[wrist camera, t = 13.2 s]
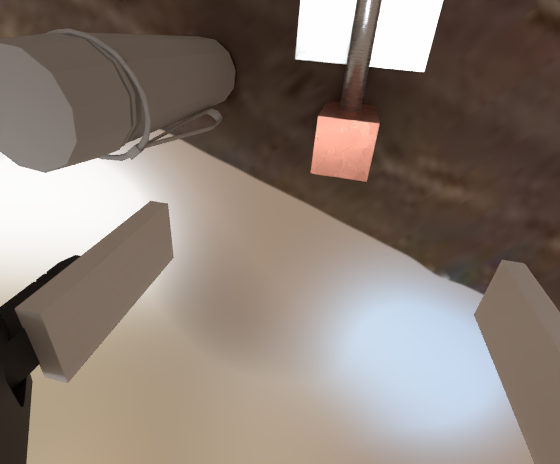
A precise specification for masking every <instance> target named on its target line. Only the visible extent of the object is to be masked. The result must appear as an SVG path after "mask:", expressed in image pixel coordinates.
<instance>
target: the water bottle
mask: <svg viewBox="0 0 560 464" xmlns="http://www.w3.org/2000/svg"><path fill="white" fill-rule="evenodd" d="M234 81H235V67H234V65H233V62H232V59H231V57H230V54H229V52H228V51H227V50H226V49H225V48H224V47H223V46H222V45H221V44H219V43H218V42H217V41H216V40H214V39H210V38H205V37H200V36H173V35H143V34H112V33H84V32H81V31H76V30H73V29H70V28H68V29H58V30H54V31H49V32H47V33H46V34H38V35H30V36H21V37H13V38H4V39H0V152H2V153H3V154H4V155H6V156H7V157H8V158H10V159H11V160H12V161H13V162H15V163H16V164H18V165H19V166H22V167H26V168H30V169H34V170H38V171H41V172H45V173H46V172H49V171H53V170H56V169H60V168H64V167H67V166H71V165H74V164H77V163H81V162H85V161H88V160H91V159H95V158H101V159H108V160H109V159H110V160H120V161H123V160H125V159H127V158H131V159H133V158H135V157H136V156H137V155H138V154H139V153H141V152H142V151H143V150H144V149H145V148H147V147H151V146H155V145H158V144H162V143H166V142H169V141H173V140H177V139H181V138H184V137H188V136H192V135H195V134H199V133H203V132H207V131H210V130H212V129H213V128H215V127H216V126H217V125H218V124H219V123H221V121H222V119H223V118H222V116H221V115H220V113H219V112H218V111H217V110H214V109H211V108H210V107H212V106H214V105H217V104H219V103H221V102H224V101H225V100H226V99H227V97H228V96H229V94H230V93H231V91H232V90H233V88H234ZM207 108H210V109H207ZM205 109H207V110H205ZM203 110H205V111H203ZM200 111H203V112H201V113H199V114H197V115H195V116H194V117H192V118H190V119H188V120H186V121H184V122H183V123H181V124H179V125H177V126H175V127H173V128H172V129H170V130H168V131H166V132H164V133H162V134H161V135H159V136H157V137H155V138H153V139H152V140H150V141H149V134H150V133H151V132H153V131H156V130H158V129H161V128H163V127H165V126H168V125H170V124H172V123H175V122H177V121H179V120H182V119H184V118H186V117H189V116H191V115H193V114H196V113H198V112H200ZM206 113H207V114H208V115H210V116H212V117H213V118H214V119H215V120H216V124H215V125H213V126H210V127H206V128H202V129H198V130H195V131H191V132H187V133H184V134H180V135H176V136H172V137H169V138H165V139H161V140H158V141H155V140H157V139H159V138H161V137H163V136H165V135H167V134H168V133H170V132H172V131H174V130H176V129H178V128H180V127H182V126H184V125H186V124H187V123H189V122H191V121H193V120H195V119H197V118H199V117H201V116H203V115H204V114H206ZM142 136H143V137H142ZM140 137H142V139H141V141H140V143H138V144H136V145H135V146H133V147H132V148H131V149H130V150H129V151H128V152H126V153H125V154H121V155H107V154H109V153H112V152H114V151H117V150H119V149H120V148H121V147H122V146H124V145H125V144H126V143H128V142H130V141H133V140H135V139H137V138H140ZM153 141H154V142H153Z"/></svg>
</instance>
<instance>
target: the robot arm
mask: <svg viewBox="0 0 560 464" xmlns="http://www.w3.org/2000/svg"><path fill="white" fill-rule="evenodd" d="M168 211H169V210H168V204H166V203H159V202H154V201H150V202H149V203H148V204H146V205H145V206H144V207H143V208H141V209H140V210H139V211H138V212H136V213H135V214H134V215H132V216H131V217H130V218H129V219H127V220H126V221H125V222H124V223H122V224H121V225H120V226H119V227H117V228H116V229H115V230H114V231H112V232H111V233H110V234H108V235H107V236H106V237H105V238H103V239H102V240H101V241H100V242H98V243H97V244H96V245H94V246H93V247H92V248H91V249H89V250H88V251H87V252H86V253H84V254H83V255H82V256H78V255H75V256H73V257H70V258H68V259H66V260H64V261H61V262H60V263H58V264H57V265H55V266H54V267H53V268H51V269H50V270H49V271H47V274H43V275H42V276H41V277H39V278H38V279H37V280H36V282H33V283H31V284H30V285H29V286H27V287H26V288H25V289H24V290H22V291H21V292H19V293H18V294H17V295H16V296H14V297H13V298H12V299H10V300H9V301H8V302H6V303H5V304H4V305H2V306H1V307H0V464H26V458H27V445H28V431H29V419H30V406H31V392H32V379H31V375H30V373H31V372H32V371H33V370H34V369H35V368H36V367H37V366H38V365H40V367H41V369H42V372H43V374H44V376H45V377H47V378H50V379H55V380H58V381H63V382H66V383H68V382H69V381H70V380H71V379H72V377H73V376H74V375H75V374H76V373H77V371H78V370H79V369H80V368H81V366H83V364H84V363H85V362H86V361H87V360H88V358H89V357H90V356H91V355H92V354H93V352H94V351H95V350H96V349H97V348H98V347H99V345H100V344H101V343H102V341H104V339H105V338H106V337H107V336H108V335H109V334H110V332H111V331H112V330H113V329H114V328H115V326H116V325H117V324H118V323H119V322H120V320H121V319H122V318H123V317H124V316H125V315H126V313H127V312H128V311H129V310H130V308H131V307H132V306H133V305H134V304H135V303H136V301H137V300H138V299H139V298H140V297H141V296H142V294H143V293H144V292H145V291H146V289H147V288H148V287H149V286H150V285H151V284H152V282H153V281H154V280H155V279H156V278H157V277H158V275H159V274H160V273H161V272H162V271H163V269H164V268H165V267H166V266H167V265H168V263H169V262H170V261H171V260H172V258H173V249H172V239H171V230H170V220H169V212H168ZM474 316H475V318H476V321H477V323H478V325H479V328H480V330H481V333H482V335H483V338H484V340H485V343H486V345H487V347H488V350H489V353H490V355H491V358H492V360H493V362H494V365H495V367H496V370H497V372H498V374H499V377H500V380H501V382H502V385H503V387H504V389H505V391H506V394H507V397H508V399H509V402H510V404H511V407H512V409H513V412H514V414H515V416H516V419H517V422H518V424H519V427H520V429H521V431H522V434H523V436H524V439H525V441H526V444H527V446H528V449H529V451H530V453H531V456H532V458H533V461H534V464H560V312H559V311H558V310H557V308H556V307H555V305H554V304H553V303H552V301H551V300H550V298H549V297H548V296H547V294H546V293H545V291H544V290H543V289H542V287H541V286H540V284H539V283H538V282H537V280H536V279H535V277H534V276H533V275H532V273H531V272H530V270H529V269H528V268H527V266H526V265H525V264H524V263H518V262H512V261H506V260H502V261H501V263H500V265H499V267H498V269H497V271H496V273H495V275H494V277H493V279H492V281H491V283H490V284H489V286H488V288H487V290H486V292H485V294H484V296H483V298H482V301H481V302H480V304H479V306H478V308H477V310H476V312H475V314H474Z"/></svg>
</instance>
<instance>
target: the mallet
mask: <svg viewBox="0 0 560 464" xmlns="http://www.w3.org/2000/svg"><path fill="white" fill-rule="evenodd" d="M381 4H382V0H357V1H356V7H355V14H354V20H353V26H352V32H351V39H350V45H349V51H348V58H347V64H346V70H345V77H344V83H343V89H342V95H341V102H340V101H332V100H327V102H326V103H325V105H324V107H323V109H322V110H321V112H320V114H319V115H318V120H317V128H316V136H315V143H314V151H313V159H312V166H311V173H312V174H318V175H325V176H332V177H339V178H345V179H352V180H359V181H366V182H367V178H368V174H369V169H370V165H371V160H372V156H373V151H374V147H375V142H376V137H377V133H378V128H379V124H380V123H379V119H378V114H377V109H376V106H375V105H366V104H362V103H363V98H364V93H365V88H366V82H367V77H368V72H369V67H370V61H371V56H372V51H373V46H374V40H375V35H376V30H377V25H378V19H379V14H380V9H381Z"/></svg>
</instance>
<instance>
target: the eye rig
mask: <svg viewBox="0 0 560 464" xmlns="http://www.w3.org/2000/svg"><path fill="white" fill-rule="evenodd" d="M356 1H357V0H300V11H299V22H298V34H297V45H296V56H295V59H298V60H308V61H318V62H328V63H338V64H347V58H348V51H349V45H350V39H351V32H352V26H353V20H354V14H355V7H356ZM442 3H443V0H382V4H381V9H380V14H379V19H378V25H377V30H376V35H375V40H374V46H373V51H372V56H371V61H370V67H378V68H388V69H398V70H408V71H418V72H424V71H425V67H426V63H427V60H428V56H429V52H430V48H431V44H432V41H433V37H434V33H435V29H436V26H437V22H438V18H439V14H440V11H441V7H442Z"/></svg>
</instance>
